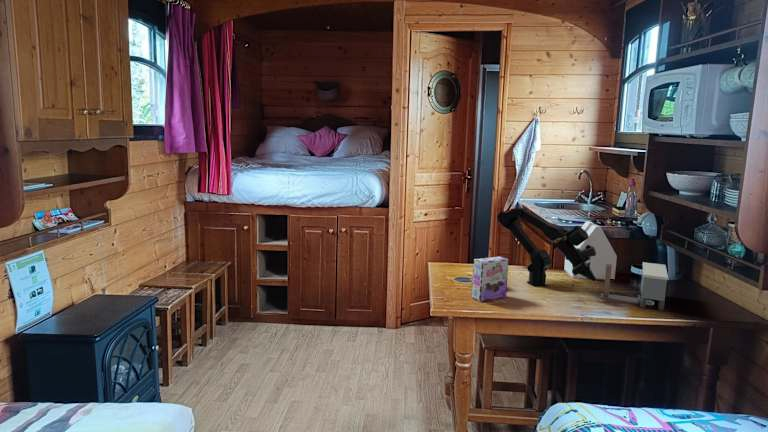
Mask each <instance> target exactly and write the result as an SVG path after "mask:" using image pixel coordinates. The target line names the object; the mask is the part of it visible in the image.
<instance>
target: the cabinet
mask: <svg viewBox="0 0 768 432" xmlns="http://www.w3.org/2000/svg"><path fill="white" fill-rule="evenodd" d="M668 281H669V276H668V271H667V266H666V264H661V263H655V262H654V263H652V262H646V261H645V262H644V261H642V274H641V281H640V282H641V283H640V286H639V295H641V301H640V305H639V308H643V309H646V306H647V305H646V300H652V301H653V300H655V301H658V307H657V310H658V311H661V312H663V311H665V302H666V300H665V299H666V291H667V284H668Z"/></svg>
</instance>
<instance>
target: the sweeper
mask: <svg viewBox="0 0 768 432" xmlns="http://www.w3.org/2000/svg"><path fill="white" fill-rule="evenodd" d="M611 269H612V265H611V264H607V265H606V274H605V279H604V286H603V292H601V293H600V297H599V299H601V300H607V301H614V302H622V303H628V304H632V305H633V304H634V305H639V306H640V301H641V297H642V296H641V294H638V295H637V297H632V296H625V295H620V294H619V295H618V294H611V293H610V288H611V287H610V286H611V280H610V279H611Z"/></svg>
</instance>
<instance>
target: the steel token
mask: <svg viewBox="0 0 768 432" xmlns="http://www.w3.org/2000/svg"><path fill="white" fill-rule="evenodd" d="M646 306H655V301H653V300H651V299H646Z"/></svg>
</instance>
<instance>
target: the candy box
mask: <svg viewBox="0 0 768 432" xmlns="http://www.w3.org/2000/svg"><path fill="white" fill-rule="evenodd" d="M509 263H510V262H509V259H508V258H506V257H503V256H494V257H487V258H486V257H484V258H474V259H473V266H472V268H473V269H472V281H471V294H470V295H471V296H470V298H471V299H473V300H475V301H478V302H486V301H494V300H500V299H505V298H506V299H507V289H508V276H509V275H508V273H509Z"/></svg>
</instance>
